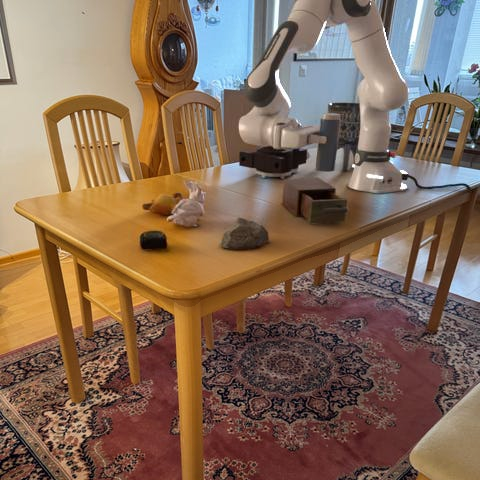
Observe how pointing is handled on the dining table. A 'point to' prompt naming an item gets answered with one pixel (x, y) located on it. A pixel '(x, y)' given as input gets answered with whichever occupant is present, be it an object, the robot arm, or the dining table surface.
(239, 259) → the dining table surface
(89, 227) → the dining table surface
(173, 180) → the dining table surface
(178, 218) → the figurine
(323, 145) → the salt shaker
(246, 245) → the rock
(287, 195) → the cabinet
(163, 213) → the toy
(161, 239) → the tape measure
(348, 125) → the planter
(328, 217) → the drawer
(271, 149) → the mechanical component
